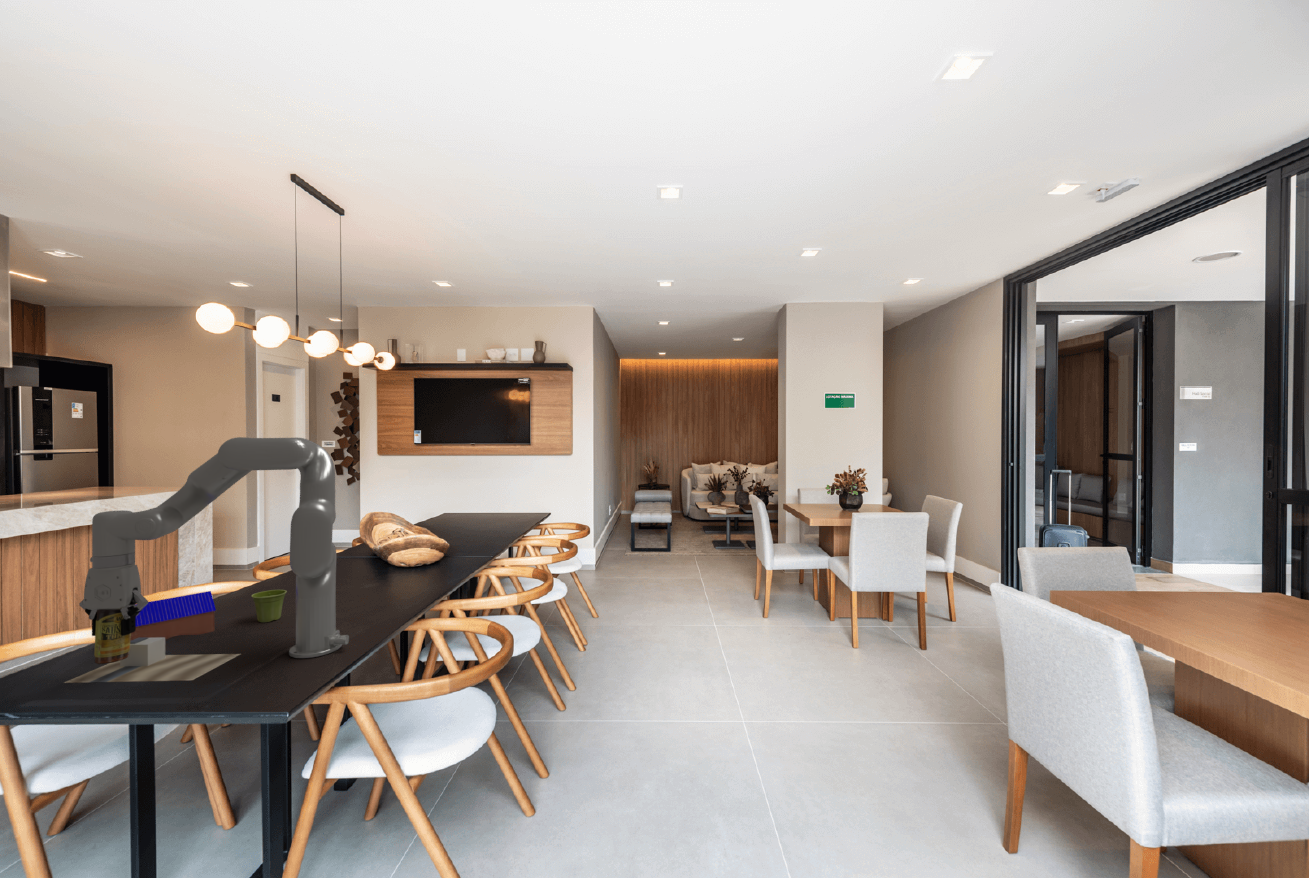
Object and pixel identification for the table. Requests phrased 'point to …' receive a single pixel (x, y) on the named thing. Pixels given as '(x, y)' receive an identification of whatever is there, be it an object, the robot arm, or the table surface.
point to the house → (176, 617)
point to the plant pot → (269, 604)
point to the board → (157, 669)
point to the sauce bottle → (110, 637)
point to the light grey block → (145, 651)
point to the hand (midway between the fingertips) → (114, 633)
